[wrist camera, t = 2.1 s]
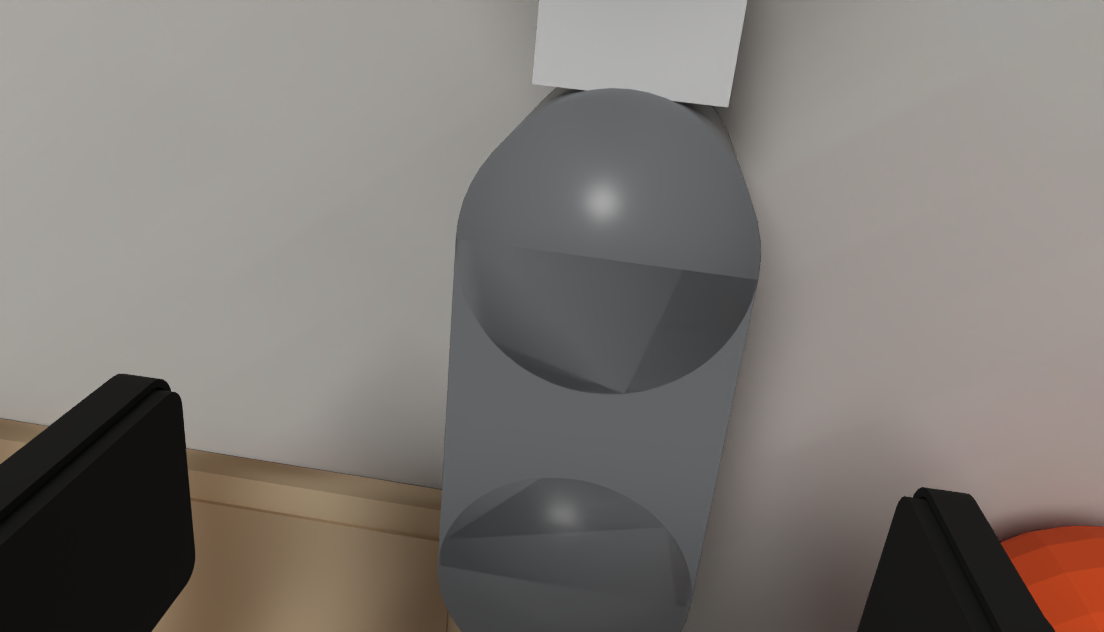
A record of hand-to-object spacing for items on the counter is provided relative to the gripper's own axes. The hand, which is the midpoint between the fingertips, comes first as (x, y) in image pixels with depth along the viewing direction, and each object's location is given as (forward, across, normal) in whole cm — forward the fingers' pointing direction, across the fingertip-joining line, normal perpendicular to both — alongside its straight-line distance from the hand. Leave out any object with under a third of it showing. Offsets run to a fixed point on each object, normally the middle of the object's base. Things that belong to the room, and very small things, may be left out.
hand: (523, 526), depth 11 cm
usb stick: (+8, -1, -1) cm, 8 cm away
